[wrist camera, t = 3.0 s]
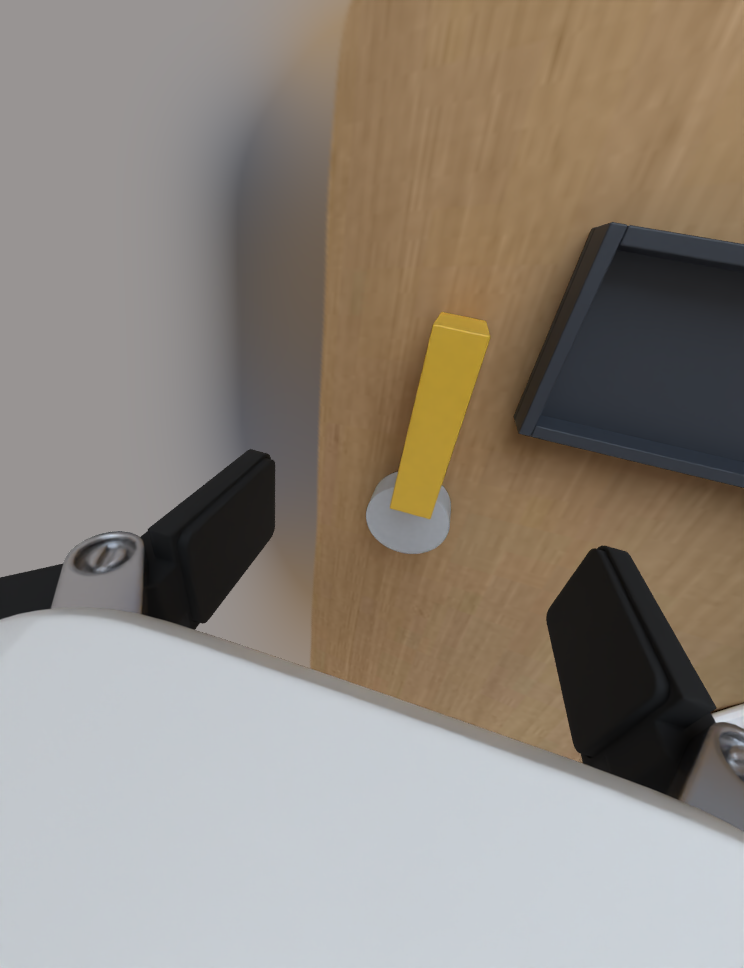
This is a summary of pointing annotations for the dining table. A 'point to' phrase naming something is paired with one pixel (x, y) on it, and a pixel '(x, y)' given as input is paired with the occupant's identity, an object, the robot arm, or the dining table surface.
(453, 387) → the yellow post on disc
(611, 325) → the tray
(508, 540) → the dining table surface
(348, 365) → the dining table surface
